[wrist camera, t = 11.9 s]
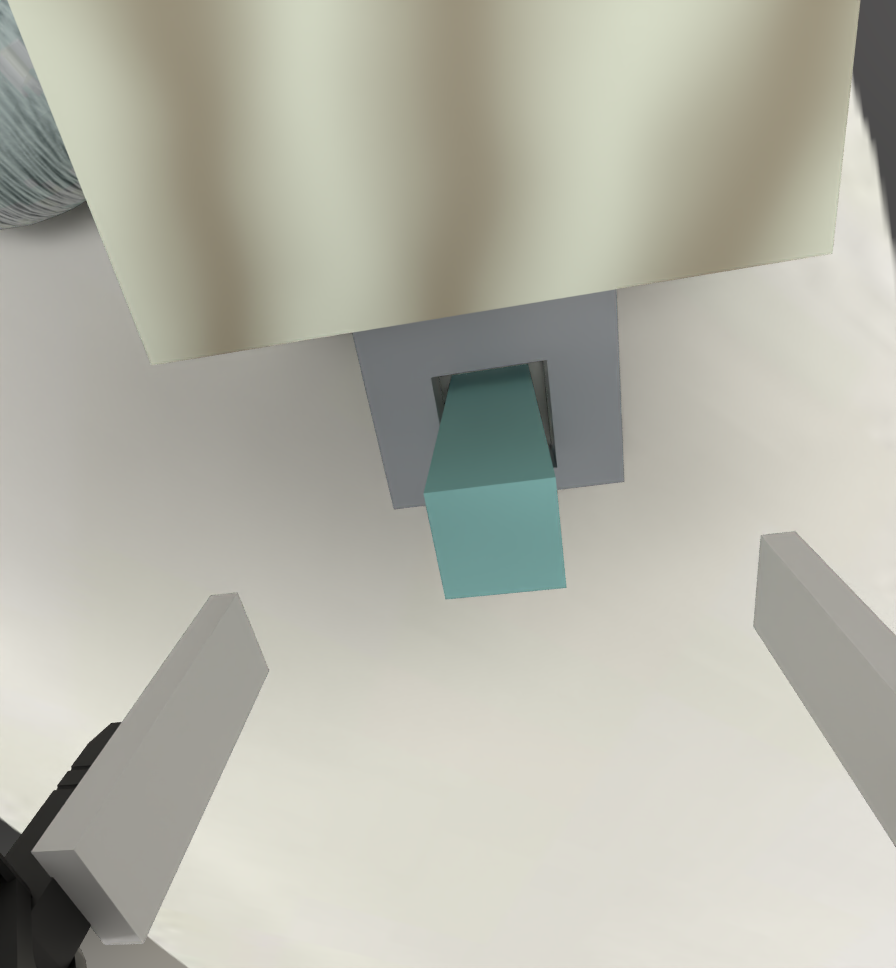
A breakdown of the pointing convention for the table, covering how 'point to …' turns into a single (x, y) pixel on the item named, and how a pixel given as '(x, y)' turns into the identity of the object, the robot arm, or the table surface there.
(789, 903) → the table surface
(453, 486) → the peg
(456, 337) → the socket
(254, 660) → the robot arm
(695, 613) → the table surface
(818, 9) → the wood grain block
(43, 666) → the table surface
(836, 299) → the table surface
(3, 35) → the grey yarn spool
